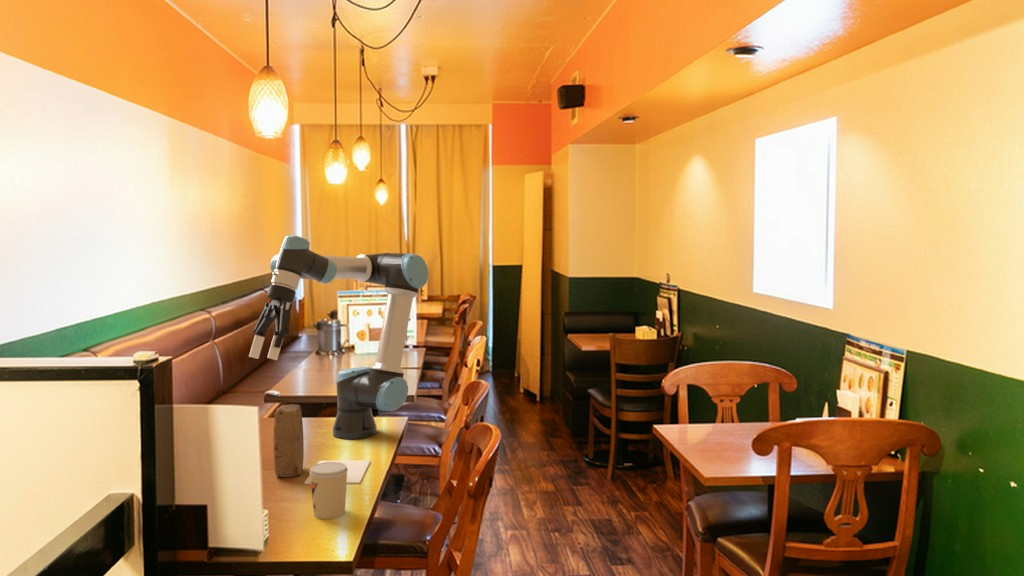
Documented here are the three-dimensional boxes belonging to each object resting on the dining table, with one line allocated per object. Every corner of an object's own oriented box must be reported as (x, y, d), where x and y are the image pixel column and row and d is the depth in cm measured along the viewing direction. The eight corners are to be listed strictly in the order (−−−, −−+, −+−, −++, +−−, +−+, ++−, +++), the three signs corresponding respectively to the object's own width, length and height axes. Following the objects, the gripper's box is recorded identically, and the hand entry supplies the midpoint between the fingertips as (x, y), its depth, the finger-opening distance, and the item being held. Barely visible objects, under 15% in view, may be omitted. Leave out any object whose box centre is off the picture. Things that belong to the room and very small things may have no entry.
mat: (319, 462, 235) (319, 460, 235) (370, 461, 235) (370, 460, 235) (304, 484, 215) (304, 482, 215) (359, 483, 215) (359, 482, 215)
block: (298, 478, 219) (297, 410, 218) (272, 479, 219) (270, 410, 217) (306, 466, 230) (305, 401, 228) (281, 467, 230) (279, 402, 228)
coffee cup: (313, 507, 198) (313, 461, 197) (350, 506, 198) (349, 461, 197) (307, 521, 188) (306, 473, 187) (345, 519, 189) (344, 472, 188)
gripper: (254, 285, 229) (234, 353, 224) (289, 281, 210) (267, 356, 205) (278, 293, 233) (258, 360, 228) (313, 289, 214) (292, 363, 209)
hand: (262, 358), depth 216 cm, fingers open, 13 cm apart
